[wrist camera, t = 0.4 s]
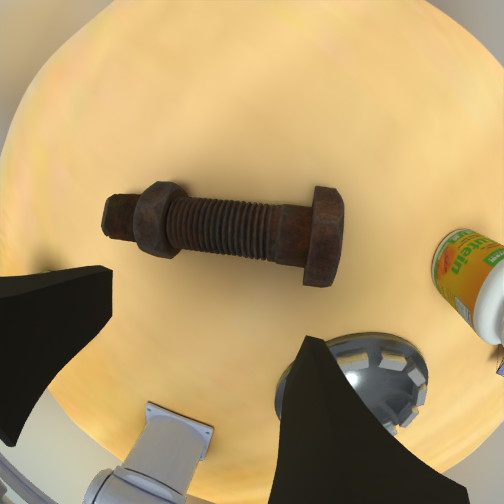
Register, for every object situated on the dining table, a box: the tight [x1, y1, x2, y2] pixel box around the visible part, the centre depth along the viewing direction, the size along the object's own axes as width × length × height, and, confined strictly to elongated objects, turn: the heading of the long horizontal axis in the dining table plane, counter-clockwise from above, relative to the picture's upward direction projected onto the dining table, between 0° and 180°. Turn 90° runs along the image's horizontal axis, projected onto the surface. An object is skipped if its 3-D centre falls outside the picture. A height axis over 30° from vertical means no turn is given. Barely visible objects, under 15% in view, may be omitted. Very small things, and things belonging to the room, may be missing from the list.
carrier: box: [275, 333, 428, 436], centre depth 19 cm, size 14×14×2 cm
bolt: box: [101, 181, 344, 288], centre depth 16 cm, size 6×5×15 cm
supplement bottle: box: [432, 229, 504, 347], centre depth 11 cm, size 5×5×10 cm
